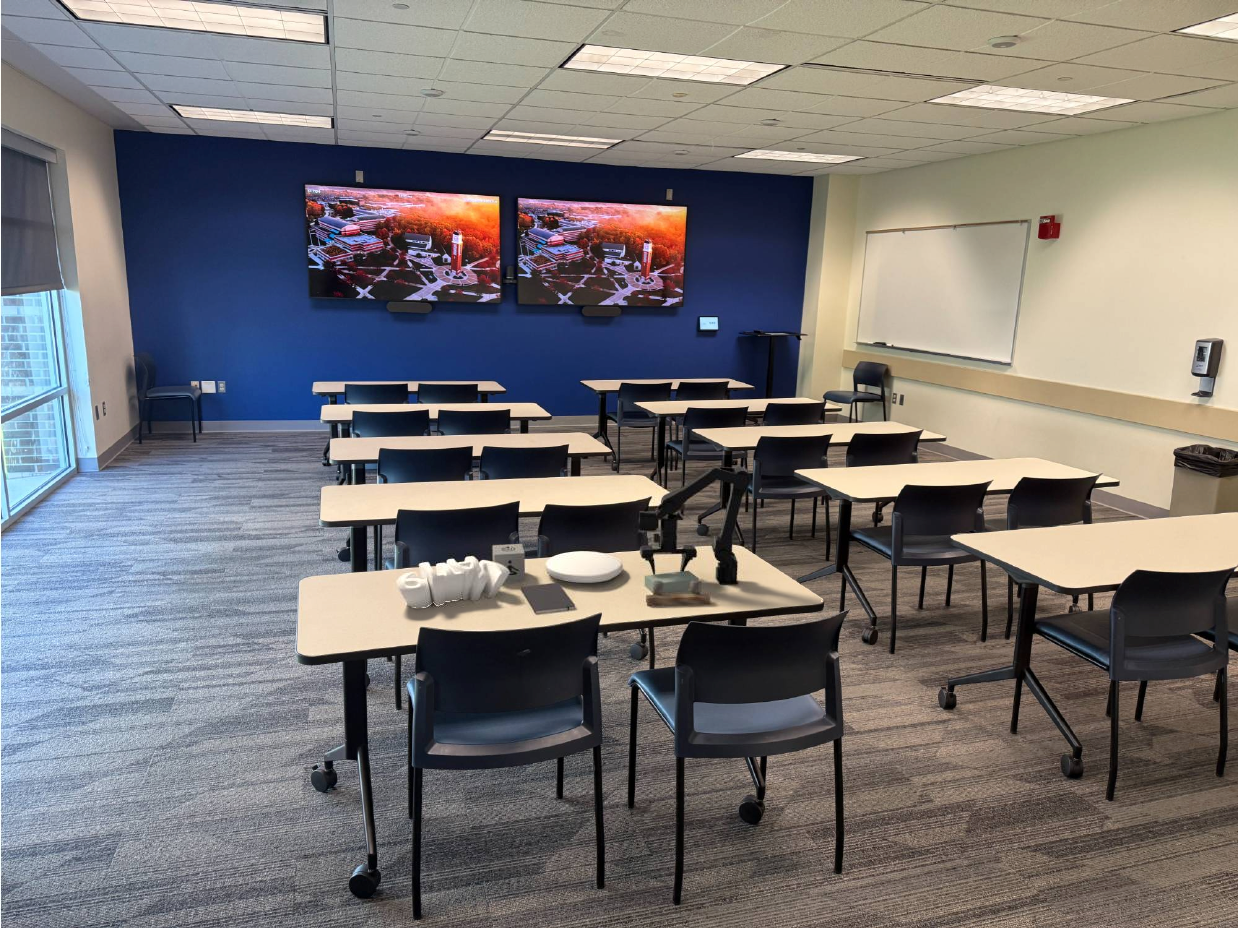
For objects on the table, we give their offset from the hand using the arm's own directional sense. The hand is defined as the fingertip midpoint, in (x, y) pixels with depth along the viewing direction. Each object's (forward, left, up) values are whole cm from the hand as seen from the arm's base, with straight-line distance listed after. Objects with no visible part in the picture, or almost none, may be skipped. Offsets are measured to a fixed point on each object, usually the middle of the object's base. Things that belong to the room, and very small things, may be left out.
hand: (667, 575), depth 275 cm
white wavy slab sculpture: (+71, +11, -2) cm, 72 cm away
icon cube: (+54, -6, -2) cm, 54 cm away
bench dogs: (0, +19, -2) cm, 19 cm away
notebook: (+41, +15, -2) cm, 43 cm away
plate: (+28, -7, -2) cm, 29 cm away
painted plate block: (0, +7, -2) cm, 7 cm away
